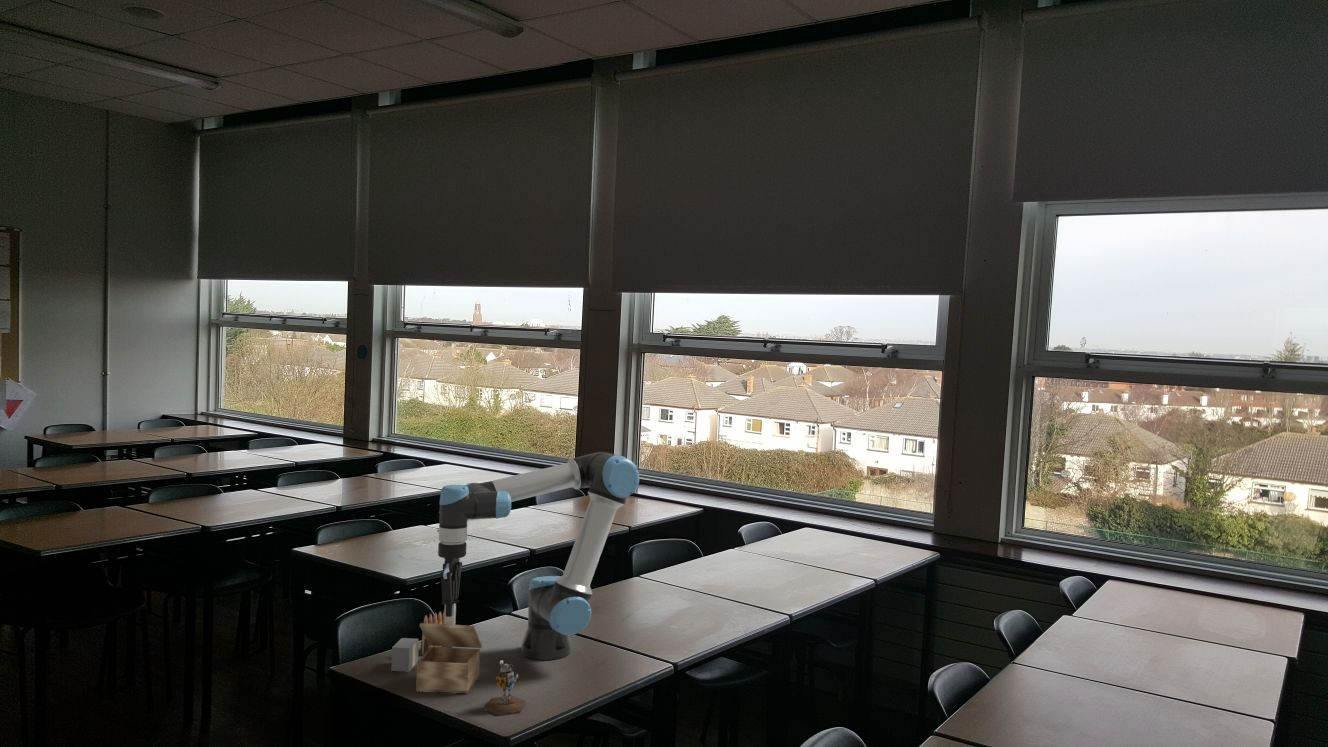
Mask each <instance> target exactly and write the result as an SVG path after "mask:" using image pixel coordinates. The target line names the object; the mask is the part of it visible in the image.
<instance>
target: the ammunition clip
mask: <svg viewBox="0 0 1328 747" xmlns="http://www.w3.org/2000/svg"><path fill="white" fill-rule="evenodd" d="M444 611H445V609H444V610H443V612H442V611H439V612H438V614H437V612H434V614H433V616H432V614H431V613H429V617H428V615H424V618H423V623H427V624H444ZM421 636H422V637H421V641H420V653H419V654H420V655H421V656H423V655H424V654H425V653H426V651H427V650H428V649H429V648H430V647H447V648H451V647H448V646H430V645H429V644H428V642H427V640H426V638H425V636H424V634H423V633H422V635H421Z"/></svg>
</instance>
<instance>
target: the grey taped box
mask: <svg viewBox="0 0 1328 747" xmlns="http://www.w3.org/2000/svg"><path fill="white" fill-rule="evenodd" d="M418 660H419V638H408V637H401V638H400V639H399V640H398V641H397V642H396V643H395V644H394V645H393V646H392V648H391V665H390V666H391V668H390V669H391V670H390V671H391V672H392V671H405V672H404V673H410V671H411V670H412V669H413V668H415V666H417V661H418Z"/></svg>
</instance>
